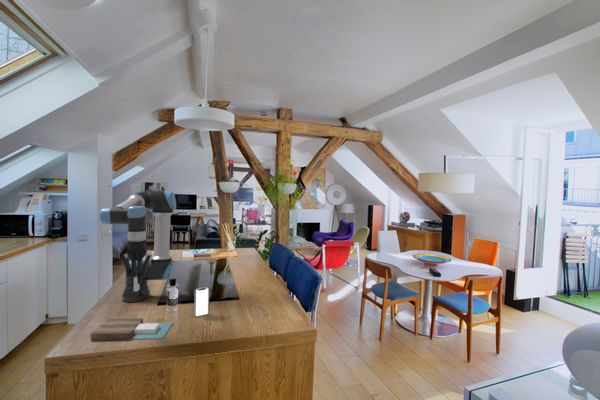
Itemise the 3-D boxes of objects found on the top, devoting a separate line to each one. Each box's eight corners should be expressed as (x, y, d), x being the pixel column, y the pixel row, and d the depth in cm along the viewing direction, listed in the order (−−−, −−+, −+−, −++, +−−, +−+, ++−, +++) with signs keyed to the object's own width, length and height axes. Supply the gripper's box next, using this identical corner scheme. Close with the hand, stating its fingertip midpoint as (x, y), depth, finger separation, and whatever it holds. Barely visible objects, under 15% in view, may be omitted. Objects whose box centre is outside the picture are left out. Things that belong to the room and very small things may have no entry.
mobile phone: (208, 313, 164) (208, 286, 163) (209, 314, 163) (209, 286, 162) (193, 317, 160) (194, 288, 159) (194, 317, 159) (194, 289, 158)
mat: (145, 324, 150) (145, 323, 150) (172, 323, 151) (172, 322, 151) (131, 339, 135) (131, 338, 135) (162, 339, 136) (162, 338, 136)
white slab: (139, 327, 145) (139, 323, 145) (159, 327, 146) (159, 323, 146) (133, 333, 139) (134, 329, 139) (154, 333, 140) (154, 329, 140)
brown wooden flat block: (108, 324, 148) (108, 318, 148) (143, 324, 150) (143, 318, 150) (90, 340, 133) (90, 333, 133) (129, 339, 135) (129, 333, 135)
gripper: (117, 241, 136) (117, 293, 137) (148, 241, 137) (148, 293, 139) (125, 238, 143) (125, 287, 145) (154, 238, 145) (154, 287, 146)
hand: (136, 290), depth 142 cm, fingers closed
